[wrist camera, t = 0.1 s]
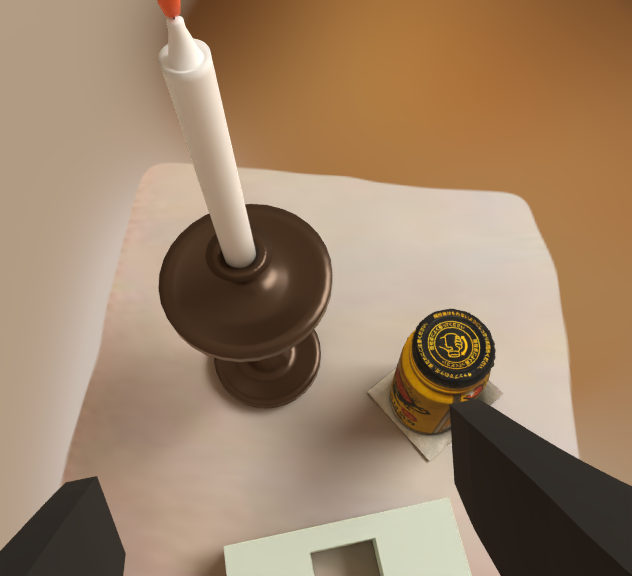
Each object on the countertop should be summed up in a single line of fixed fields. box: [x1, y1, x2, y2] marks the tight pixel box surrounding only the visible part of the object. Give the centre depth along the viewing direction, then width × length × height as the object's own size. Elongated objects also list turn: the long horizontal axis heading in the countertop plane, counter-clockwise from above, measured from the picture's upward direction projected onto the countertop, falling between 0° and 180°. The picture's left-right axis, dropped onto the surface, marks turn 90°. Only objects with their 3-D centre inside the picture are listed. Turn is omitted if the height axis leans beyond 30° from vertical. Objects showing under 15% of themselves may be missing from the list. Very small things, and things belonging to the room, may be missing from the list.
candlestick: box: [158, 0, 332, 408], centre depth 31 cm, size 11×11×35 cm
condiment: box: [367, 309, 503, 461], centre depth 39 cm, size 7×8×12 cm
